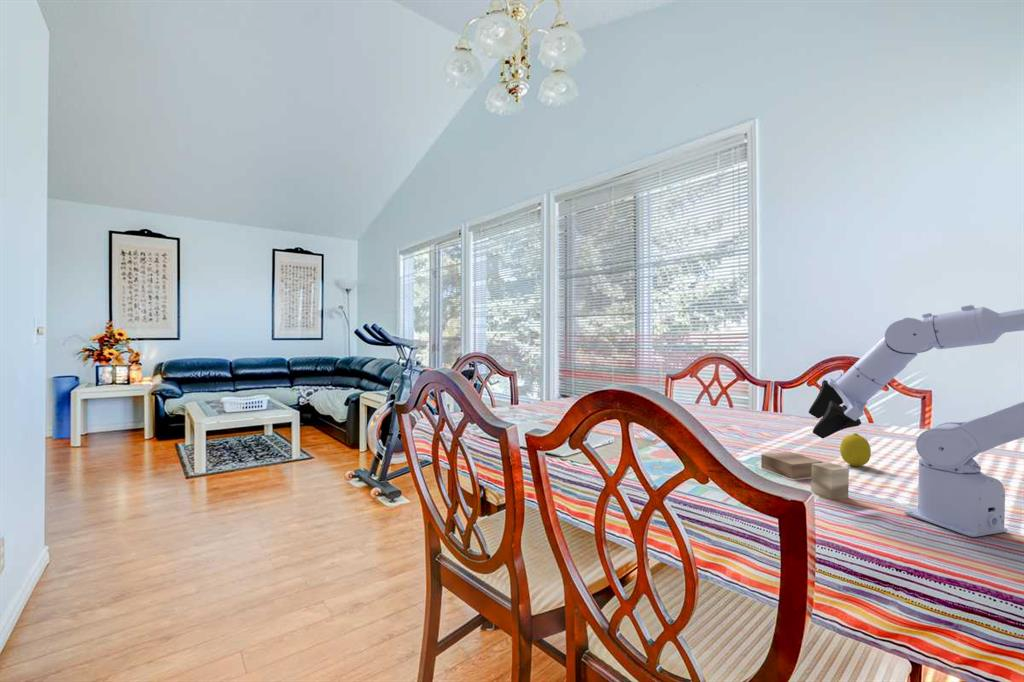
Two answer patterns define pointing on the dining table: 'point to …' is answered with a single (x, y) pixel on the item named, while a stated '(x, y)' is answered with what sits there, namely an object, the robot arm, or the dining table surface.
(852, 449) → the lemon
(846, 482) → the maple pillar
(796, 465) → the walnut slab
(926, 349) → the robot arm
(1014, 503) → the dining table surface
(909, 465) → the dining table surface
